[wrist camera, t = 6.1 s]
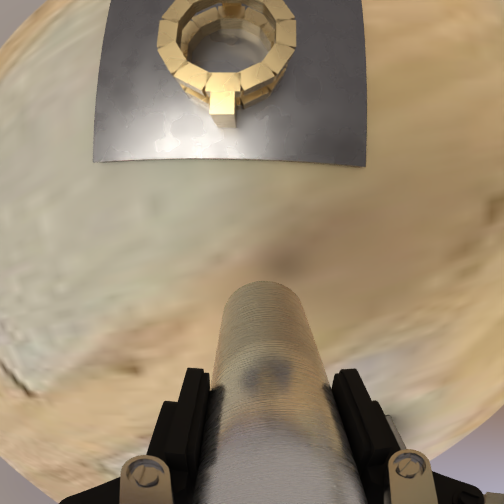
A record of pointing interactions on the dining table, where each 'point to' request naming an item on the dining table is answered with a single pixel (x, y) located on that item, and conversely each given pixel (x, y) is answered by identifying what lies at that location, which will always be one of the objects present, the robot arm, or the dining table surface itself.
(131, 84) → the collar stand
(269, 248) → the dining table surface
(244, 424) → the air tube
